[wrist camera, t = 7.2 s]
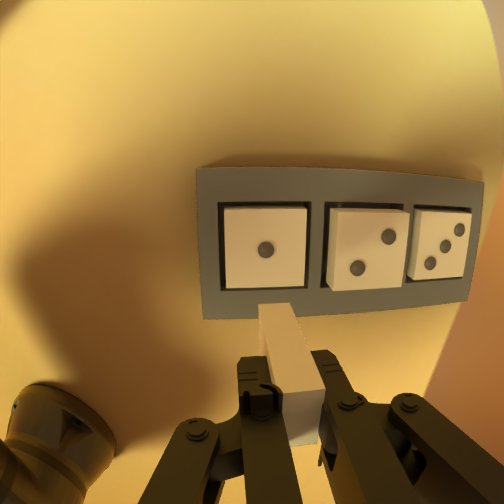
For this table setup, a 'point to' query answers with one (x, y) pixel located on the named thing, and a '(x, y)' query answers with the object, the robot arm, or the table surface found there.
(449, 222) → the key three
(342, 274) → the key two
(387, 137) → the table surface
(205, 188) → the keypad
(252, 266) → the key one
